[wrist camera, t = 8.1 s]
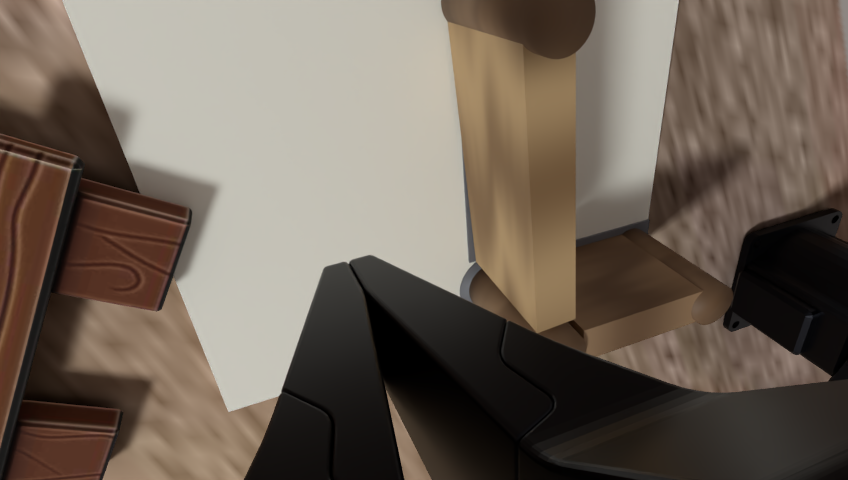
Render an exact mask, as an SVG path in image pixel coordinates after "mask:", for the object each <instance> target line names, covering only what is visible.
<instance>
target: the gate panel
mask: <svg viewBox="0 0 848 480" xmlns="http://www.w3.org/2000/svg"><path fill="white" fill-rule="evenodd" d="M441 8H442V12H443V15H444V17H445V19H446V20H447V22H448V30H449V38H450V47H451V55H452V63H453V72H454V80H455V89H456V97H457V106H458V114H459V122H460V131H461V139H462V148H463V156H464V164H465V173H466V181H467V190H468V198H469V207H470V215H471V223H472V232H473V240H474V249H475V257H476V262H477V263H478V265H479V266H480V267H481V268H482V269H483V270H484V272H485V273H486V274H487V275H488V276H489V277H490V279H491V280H492V281H493V282H494V283H495V284H496V286H497V287H498V288H499V289H500V290H501V292H502V293H503V294H504V295H505V296H506V297H507V299H508V300H509V301H510V302H511V303H512V304H513V306H514V307H515V308H516V309H517V310H518V311H519V313H520V314H521V315H522V316H523V317H524V319H525V320H526V321H527V322H528V323H529V324H530V326H531V327H532V328H533V329H534V330H535V331H536V333H540V332H542V331H545V330H547V329H550V328H553V327H555V326H558V325H561V324H563V323H566V322H569V321H571V320H574V319H576V52H577V51H578V50H579V49H580V48H581V47H582V46H583V45H584V43H585V42H586V41H587V39H588V37H589V36H590V34H591V31H592V29H593V26H594V22H595V15H596V6H595V0H441Z"/></svg>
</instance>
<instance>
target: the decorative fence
mask: <svg viewBox="0 0 848 480" xmlns="http://www.w3.org/2000/svg"><path fill="white" fill-rule="evenodd" d="M84 166H85V163H84V162H83V161H82V160H81V159H80V158H79V157H78V156H76V155H72V154H69V153H66V152H62V151H59V150H55V149H52V148H48V147H45V146H41V145H38V144H35V143H31V142H28V141H24V140H21V139H17V138H14V137H11V136H7V135H4V134H0V480H102V479H103V476H104V474H105V471H106V468H107V465H108V462H109V459H110V456H111V453H112V451H113V448H114V445H115V442H116V439H117V436H118V433H119V430H120V425H121V420H122V415H123V411H122V410H121V409H111V408H101V407H91V406H81V405H71V404H60V403H50V402H40V401H30V400H23V397H24V393H25V389H26V385H27V381H28V378H29V374H30V370H31V366H32V363H33V359H34V355H35V351H36V347H37V344H38V340H39V336H40V332H41V329H42V325H43V321H44V317H45V313H46V310H47V306H48V302H49V298H50V295H51V292H52V293H58V294H63V295H69V296H74V297H80V298H85V299H91V300H96V301H102V302H107V303H113V304H118V305H124V306H129V307H135V308H140V309H146V310H151V311H159V310H161V309H162V307H163V304H164V301H165V298H166V295H167V292H168V289H169V287H170V284H171V281H172V278H173V275H174V272H175V269H176V266H177V264H178V261H179V258H180V255H181V252H182V249H183V246H184V243H185V241H186V238H187V235H188V232H189V229H190V226H191V220H192V210H191V209H190V208H189V207H186V206H182V205H178V204H175V203H171V202H167V201H164V200H160V199H156V198H153V197H149V196H146V195H142V194H138V193H135V192H131V191H127V190H124V189H120V188H116V187H113V186H109V185H105V184H102V183H98V182H95V181H91V180H87V179H84V178H81V177H82V174H83V170H84Z"/></svg>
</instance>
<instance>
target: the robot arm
mask: <svg viewBox="0 0 848 480" xmlns="http://www.w3.org/2000/svg"><path fill="white" fill-rule="evenodd" d="M841 218H842V212H841V211H838V210H836V209H834V208H831V209H828V210H824V211H821V212H818V213H815V214H811V215H808V216H805V217H802V218H798V219H795V220H792V221H789V222H785V223H782V224H779V225H776V226H772V227H769V228H766V229H763V230H759V231H756V232H753V233H751V234H749V235H748V236H747V237H746V239H745V240H744V243H743V247H742V251H741V255H740V259H739V263H738V267H737V271H736V275H735V279H734V283H733V287H732V291H733V300H732V303H731V305H730V307H729V308H728V310H727V311H726V314H725V318H724V322H723V326H724V327H725V328H726V329H728V330H729V331H731V332H732V331H736V330H739V329H742V328H744V327H747V326H750V325H752V326H754V327H755V328H757V329H758V330H759V331H761V332H762V333H764V334H765V335H767V336H768V337H770V338H771V339H772V340H774V341H775V342H777V343H778V344H780V345H781V346H782V347H784V348H785V349H787V350H788V351H790V352H791V353H793V354H795V355H799V354H800V355H802V356H803V357H804V358H806V359H807V360H809V361H810V362H812V363H813V364H815V365H816V366H818V367H819V368H821V369H822V370H823V371H825V372H826V373H828V374H829V375H831V376H832V377H831V378H830V380H829V381H828V382H820V383H811V384H803V385H794V386H785V387H777V388H768V389H759V390H750V391H742V392H731V393H711V392H703V391H696V390H691V389H687V388H682V387H679V386H676V385H673V384H670V383H667V382H664V381H661V380H659V379H656V378H653V377H650V376H648V375H645V374H642V373H639V372H637V371H634V370H631V369H628V368H626V367H623V366H620V365H617V364H615V363H612V362H609V361H606V360H603V359H601V358H598V357H595V356H592V355H590V354H587V353H584V352H582V351H579V350H577V349H574V348H572V347H569V346H566V345H564V344H561V343H559V342H556V341H554V340H551V339H549V338H547V337H545V336H542V335H540V334H538V333H536V332H533V331H531V330H529V329H527V328H525V327H523V326H520V325H518V324H516V323H514V322H512V321H507V320H506V319H505V318H503V317H501V316H499V315H497V314H495V313H493V312H491V311H489V310H486V309H484V308H482V307H480V306H478V305H476V304H474V303H472V302H470V301H468V300H465V299H463V298H461V297H459V296H457V295H455V294H453V293H451V292H449V291H447V290H445V289H442V288H440V287H438V286H436V285H434V284H432V283H430V282H428V281H426V280H424V279H421V278H419V277H417V276H415V275H413V274H411V273H409V272H407V271H405V270H403V269H400V268H398V267H396V266H394V265H392V264H390V263H388V262H386V261H384V260H382V259H379V258H377V257H375V256H373V255H367V256H363V257H359V258H356V259H352V260H350V262H349V264H348V263H347V262H340V263H337V264H333V265H329V266H326V267H325V268H324V269H323V271H322V274H321V277H320V280H319V283H318V285H317V288H316V291H315V294H314V297H313V300H312V303H311V306H310V309H309V312H308V314H307V317H306V320H305V323H304V326H303V329H302V332H301V335H300V338H299V341H298V343H297V346H296V349H295V352H294V355H293V358H292V361H291V364H290V367H289V370H288V372H287V375H286V378H285V381H284V384H283V387H282V390H281V394H280V395H279V398H278V401H277V404H276V407H275V410H274V412H273V415H272V418H271V420H270V423H269V425H268V428H267V430H266V433H265V436H264V438H263V441H262V443H261V445H260V447H259V449H258V451H257V453H256V456H255V458H254V460H253V462H252V464H251V466H250V468H249V470H248V472H247V474H246V476H245V478H244V480H404V476H403V471H402V466H401V462H400V457H399V452H398V447H397V442H396V437H395V432H394V428H393V423H392V418H391V413H390V408H389V403H388V399H387V394H386V390H387V392H388V394H389V396H390V398H391V400H392V402H393V404H394V406H395V408H396V410H397V412H398V414H399V416H400V418H401V420H402V422H403V424H404V426H405V428H406V430H407V431H408V433H409V435H410V437H411V439H412V441H413V443H414V445H415V447H416V449H417V451H418V453H419V455H420V457H421V459H422V461H423V463H424V465H425V467H426V469H427V471H428V473H429V475H430V477H431V479H432V480H848V242H846V241H843V240H841V239H839V238H837V237H835V235H836V232H837V230H838V227H839V224H840V221H841ZM385 387H386V389H385Z"/></svg>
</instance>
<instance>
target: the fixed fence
mask: <svg viewBox="0 0 848 480" xmlns="http://www.w3.org/2000/svg"><path fill="white" fill-rule="evenodd" d="M469 295H470V298H471V300H472V302H473V303H474V304H476V305H478V306H480V307H482V308H484V309H486V310H489V311H491V312H493V313H495V314H497V315H499V316H501V317H503V318H505V319H506V320H507V321H512V322H514V323H516V324H518V325H520V326H523V327H525V328H527V329H529V330H531V331H533V332H536V331H535V330H534V329H533V328H532V327H531V326H530V324H529V323H528V322H527V321H526V320H525V319H524V317H523V316H522V315H521V314H520V313H519V311H518V310H517V309H516V308H515V307H514V306H513V304H512V303H511V302H510V301H509V300H508V299H507V297H506V296H505V295H504V294H503V293H502V292H501V290H500V289H499V288H498V287H497V286H496V284H495V283H494V282H493V281H492V280H491V279H490V277H489V276H488V275H487V274H486V273H485V272H484V270H483V269H480V270H479V271H478V272H477V273H476V275H475V276H474V277H473V279H472V281H471V284H470V287H469ZM732 300H733V291H732V289H731V288H729V287H728V286H726V285H725V284H723V283H722V282H720V281H719V280H717V279H716V278H714V277H712V276H711V275H709V274H708V273H706V272H705V271H703V270H702V269H700V268H699V267H697V266H696V265H694V264H692V263H691V262H689V261H688V260H686V259H685V258H683V257H682V256H680V255H679V254H677V253H676V252H674V251H673V250H671V249H669V248H668V247H666V246H665V245H663V244H662V243H660V242H659V241H657V240H656V239H654V238H653V237H651V236H649V235H648V234H646V233H645V232H643V231H642V230H640V229H637V228H633V229H630V230H627V231H625V232H624V233H623V234H621V235H618V236H614V237H611V238H607V239H604V240H600V241H597V242H593V243H590V244H586V245H583V246H579V247H576V319H574V320H571V321H569V322H566V323H563V324H561V325H558V326H555V327H553V328H550V329H547V330H545V331H542V332H540V333H538V334H540V335H542V336H545V337H547V338H549V339H551V340H554V341H556V342H559V343H561V344H564V345H566V346H569V347H572V348H574V349H577V350H579V351H582V352H584V353H587V354H590V355H592V356H595V357H596V356H599V355H602V354H605V353H608V352H611V351H614V350H616V349H619V348H622V347H625V346H628V345H631V344H634V343H636V342H639V341H642V340H645V339H648V338H651V337H654V336H657V335H659V334H662V333H665V332H668V331H671V330H674V329H677V328H680V327H682V326H685V325H688V324H691V323H694V322H697V323H699V324H701V325H708V324H711V323H713V322H715V321H717V320H718V319H719V318H721V317H722V316H723V315H724V314H725V313H726V311H727V310H728V308H729V307H730V305H731V303H732Z"/></svg>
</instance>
